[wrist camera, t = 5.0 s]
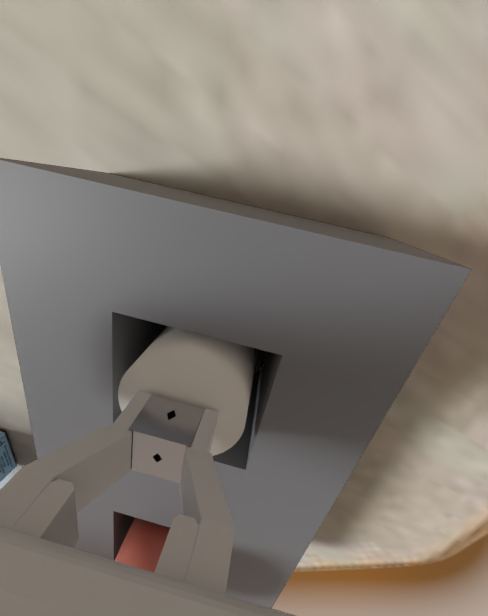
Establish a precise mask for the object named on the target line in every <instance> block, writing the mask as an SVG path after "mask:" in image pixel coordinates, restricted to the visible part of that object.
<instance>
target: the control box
mask: <svg viewBox="0 0 488 616" xmlns="http://www.w3.org/2000/svg"><path fill="white" fill-rule="evenodd" d="M0 265H1V270H2V275H3V281H4V286H5V291H6V296H7V302H8V307H9V312H10V318H11V323H12V328H13V333H14V339H15V344H16V349H17V355H18V360H19V365H20V370H21V376H22V381H23V386H24V392H25V397H26V402H27V407H28V413H29V418H30V423H31V429H32V434H33V439H34V444H35V450H36V455H37V459H39V458H41V457H43V456H45V455H47V454H49V453H51V452H53V451H55V450H57V449H59V448H61V447H63V446H65V445H67V444H69V443H71V442H73V441H75V440H77V439H79V438H81V437H83V436H85V435H87V434H89V433H91V432H93V431H95V430H98V429H100V428H102V427H104V426H106V425H111V426H112V424H113V423H114V422H115V421H116V419H117V418H118V417H119V415H120V414H121V413H122V411H121V409H120V405H119V400H118V389H119V385H120V381H121V379H122V377H123V375H124V374H125V373H126V371H127V370H128V369H129V368H130V367H131V366H132V365H133V364H134V362H135V361H136V360H137V359H138V358H139V357H140V356H141V355H142V354H143V352H144V351H145V350H146V349H147V348H148V347H149V346H150V345H151V344H152V343H153V341H154V340H155V339H156V338H157V337H158V336H159V335H160V334H161V333H162V331H163V330H164V329H165V328H166V327H167V326H170V327H174V328H177V329H181V330H185V331H189V332H193V333H197V334H201V335H205V336H209V337H213V338H217V339H220V340H224V341H228V342H232V343H236V344H240V345H244V346H248V347H252V348H256V349H260V350H263V351H267V352H266V355H265V359H264V362H263V366H262V369H261V373H260V376H259V379H258V380H256V379H253V382H252V388H251V394H250V400H249V406H248V411H247V417H246V423H245V428H244V431H243V434H242V436H241V437H240V439H239V440H238V441H237V442H236V444H235V445H233V446H232V447H231V448H230V449H228V450H226V451H225V452H223V453H220V454H218V455H214V456H212V457H213V460H214V463H215V466H216V470H217V473H218V476H219V479H220V482H221V486H222V489H223V492H224V495H225V498H226V502H227V505H228V508H229V511H230V514H231V518H232V521H233V524H234V527H235V533H234V539H233V546H232V553H231V560H230V567H229V573H228V580H227V587H226V595H229V596H233V597H236V598H239V599H242V600H246V601H249V602H252V603H256V604H259V605H262V606H266V607H269V608H272V607H273V605H274V604H275V602H276V600H277V598H278V597H279V595H280V593H281V592H282V590H283V588H284V587H285V585H286V583H287V581H288V579H289V578H290V576H291V575H292V573H293V571H294V570H295V568H296V566H297V564H298V563H299V561H300V559H301V558H302V556H303V554H304V553H305V551H306V549H307V548H308V546H309V544H310V542H311V541H312V539H313V537H314V536H315V534H316V532H317V531H318V529H319V527H320V525H321V524H322V522H323V520H324V519H325V517H326V515H327V514H328V512H329V510H330V508H331V507H332V505H333V503H334V502H335V500H336V498H337V497H338V495H339V493H340V492H341V490H342V488H343V486H344V485H345V483H346V481H347V480H348V478H349V476H350V475H351V473H352V471H353V469H354V468H355V466H356V464H357V463H358V461H359V459H360V458H361V456H362V454H363V453H364V451H365V449H366V447H367V446H368V444H369V442H370V441H371V439H372V437H373V436H374V434H375V432H376V430H377V429H378V427H379V425H380V424H381V422H382V420H383V419H384V417H385V415H386V413H387V412H388V410H389V408H390V407H391V405H392V403H393V402H394V400H395V398H396V397H397V395H398V393H399V391H400V390H401V388H402V386H403V385H404V383H405V381H406V380H407V378H408V376H409V374H410V373H411V371H412V369H413V368H414V366H415V364H416V363H417V361H418V359H419V357H420V356H421V354H422V352H423V351H424V349H425V347H426V346H427V344H428V342H429V341H430V339H431V337H432V335H433V334H434V332H435V330H436V329H437V327H438V325H439V324H440V322H441V320H442V318H443V317H444V315H445V313H446V312H447V310H448V308H449V307H450V305H451V303H452V301H453V300H454V298H455V296H456V295H457V293H458V291H459V290H460V288H461V286H462V285H463V283H464V281H465V279H466V278H467V276H468V274H469V273H470V271H471V269H469V268H467V267H464V266H461V265H459V264H456V263H454V262H451V261H448V260H446V259H443V258H440V257H438V256H435V255H433V254H430V253H427V252H425V251H422V250H420V249H417V248H414V247H412V246H409V245H407V244H404V243H401V242H399V241H396V240H393V239H391V238H388V237H384V236H380V235H375V234H371V233H367V232H362V231H358V230H354V229H349V228H345V227H341V226H336V225H332V224H328V223H323V222H319V221H315V220H310V219H306V218H302V217H297V216H293V215H288V214H284V213H280V212H275V211H271V210H267V209H262V208H258V207H254V206H249V205H245V204H241V203H236V202H232V201H228V200H223V199H219V198H215V197H210V196H206V195H202V194H197V193H193V192H188V191H184V190H180V189H175V188H171V187H167V186H162V185H158V184H154V183H149V182H145V181H141V180H136V179H132V178H128V177H123V176H119V175H115V174H110V173H104V172H97V171H90V170H83V169H76V168H69V167H61V166H54V165H47V164H40V163H33V162H25V161H18V160H11V159H4V158H0ZM179 514H181V515H183V509H182V501H181V494H180V487H179V483H176V482H173V481H170V480H166V479H163V478H160V477H157V476H154V475H150V474H146V473H142V472H138V471H134V470H130V472H129V473H128V474H127V475H125V476H124V477H123V478H121V479H120V480H119V481H118V482H116V483H115V484H114V485H113V486H111V487H110V488H109V489H107V490H106V491H105V492H104V493H102V494H101V495H100V496H99V497H97V498H96V499H95V500H93V501H92V502H91V503H90V504H88V505H87V506H86V507H85V508H83V509H82V510H81V511H79V512H78V513H77V522H78V532H79V540H78V541H77V543H76V545H75V546H74V549H78V550H81V551H84V552H88V553H91V554H94V555H98V556H101V557H104V558H107V559H111V560H115V558H116V556H117V554H118V552H119V550H120V548H121V545H122V543H123V541H124V539H125V537H126V535H127V533H128V530H129V528H130V526H131V524H132V522H133V520H134V518H139V519H142V520H146V521H149V522H153V523H156V524H159V525H163V526H166V527H171V524H172V522H173V519H174V518H175V517H176V516H178V515H179Z"/></svg>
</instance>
